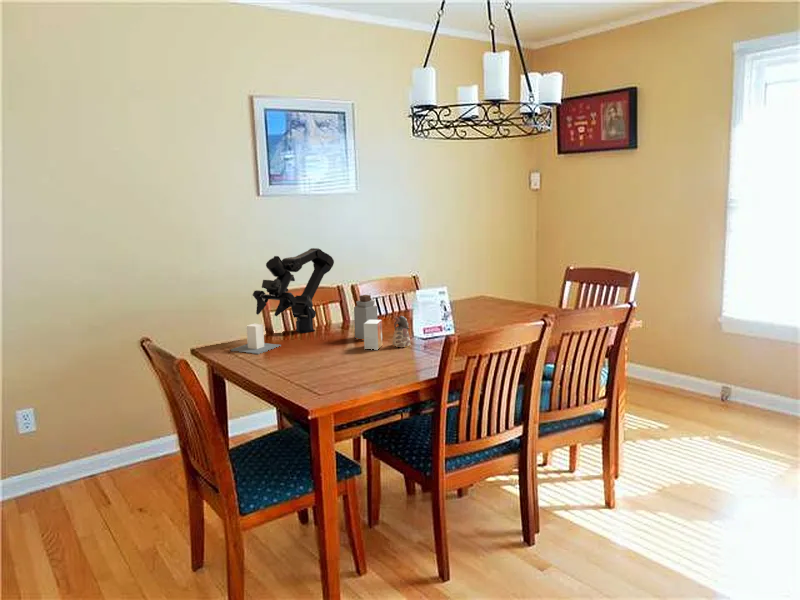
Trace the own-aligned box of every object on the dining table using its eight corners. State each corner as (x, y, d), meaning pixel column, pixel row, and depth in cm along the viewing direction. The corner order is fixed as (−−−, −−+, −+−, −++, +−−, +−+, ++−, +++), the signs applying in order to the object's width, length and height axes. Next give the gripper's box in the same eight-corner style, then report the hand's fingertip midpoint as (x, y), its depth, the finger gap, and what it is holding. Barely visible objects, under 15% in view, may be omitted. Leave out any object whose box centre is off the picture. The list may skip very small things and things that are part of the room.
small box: (378, 350, 242) (377, 323, 241) (364, 350, 243) (363, 323, 242) (383, 345, 250) (382, 319, 248) (369, 345, 251) (368, 319, 249)
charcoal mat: (253, 342, 259) (253, 341, 259) (281, 346, 253) (281, 344, 253) (229, 350, 247) (229, 349, 247) (258, 354, 241) (258, 353, 241)
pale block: (255, 345, 253) (254, 323, 251) (264, 346, 251) (262, 324, 249) (247, 348, 249) (246, 325, 247) (256, 349, 247) (255, 326, 245)
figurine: (412, 347, 246) (412, 317, 244) (394, 348, 245) (394, 318, 243) (408, 343, 253) (408, 313, 251) (391, 344, 252) (390, 314, 250)
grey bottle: (378, 337, 263) (376, 295, 260) (367, 341, 258) (365, 297, 255) (366, 335, 267) (364, 293, 264) (355, 338, 262) (353, 296, 259)
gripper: (253, 270, 260) (237, 302, 253) (290, 272, 252) (274, 305, 244) (267, 286, 269) (251, 317, 261) (303, 289, 260) (288, 320, 252)
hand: (266, 314), depth 254 cm, fingers open, 9 cm apart
